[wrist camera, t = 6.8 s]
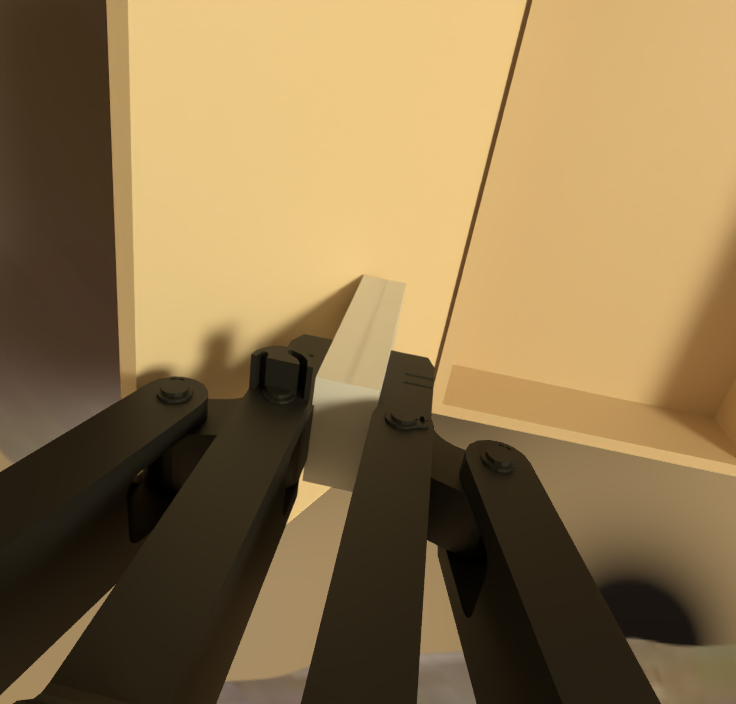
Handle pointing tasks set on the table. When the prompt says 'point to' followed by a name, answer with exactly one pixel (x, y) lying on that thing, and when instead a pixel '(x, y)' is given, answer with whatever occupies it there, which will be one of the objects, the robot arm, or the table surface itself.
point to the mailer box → (606, 237)
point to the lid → (292, 171)
